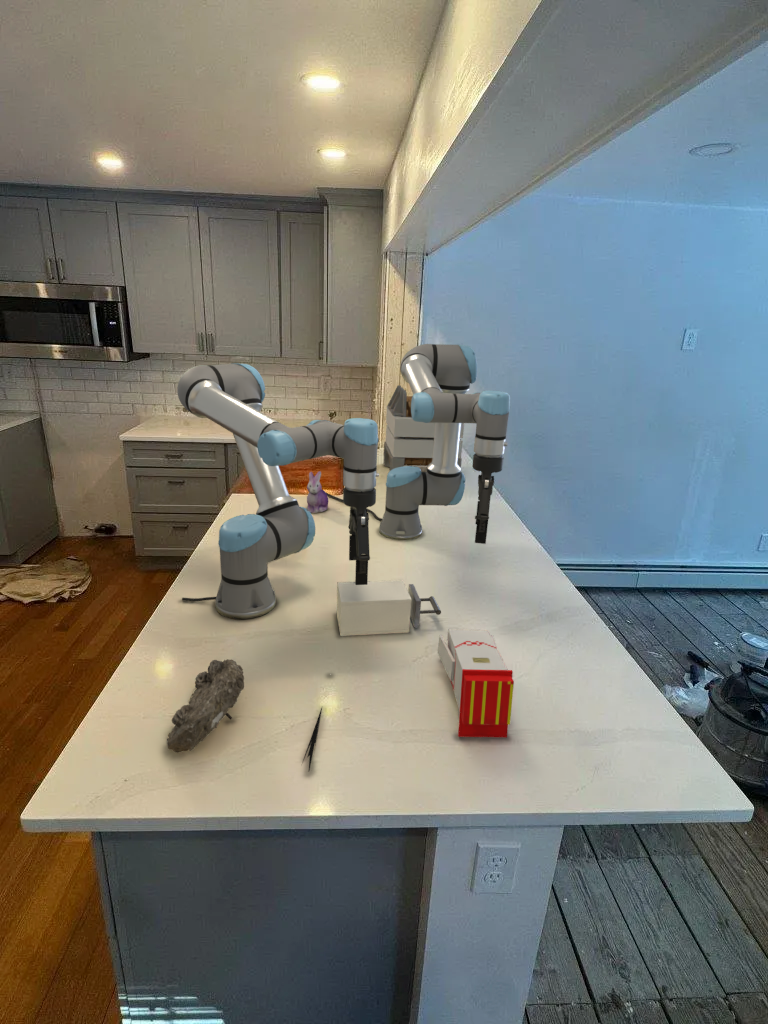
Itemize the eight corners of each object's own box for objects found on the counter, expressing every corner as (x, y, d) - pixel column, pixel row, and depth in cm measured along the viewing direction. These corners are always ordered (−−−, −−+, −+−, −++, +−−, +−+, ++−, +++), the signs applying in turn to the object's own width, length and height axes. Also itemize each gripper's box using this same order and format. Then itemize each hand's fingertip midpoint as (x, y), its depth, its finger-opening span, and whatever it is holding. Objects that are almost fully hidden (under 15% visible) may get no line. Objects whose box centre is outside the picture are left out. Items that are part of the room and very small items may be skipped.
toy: (488, 613, 130) (523, 677, 101) (484, 667, 133) (517, 744, 104) (435, 612, 130) (455, 676, 101) (432, 666, 133) (451, 743, 103)
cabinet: (401, 611, 149) (403, 579, 146) (409, 632, 139) (411, 599, 136) (336, 614, 146) (337, 582, 143) (340, 636, 136) (341, 602, 133)
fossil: (192, 660, 117) (244, 628, 112) (224, 691, 120) (276, 661, 115) (142, 746, 98) (202, 712, 93) (182, 779, 101) (242, 748, 96)
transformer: (382, 463, 289) (386, 382, 275) (445, 464, 293) (451, 384, 279) (390, 482, 257) (394, 392, 243) (460, 483, 261) (468, 394, 247)
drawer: (432, 608, 149) (434, 583, 147) (441, 626, 141) (443, 600, 138) (351, 611, 146) (352, 586, 143) (355, 630, 137) (356, 603, 135)
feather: (331, 679, 122) (336, 673, 122) (307, 777, 96) (313, 769, 95) (324, 675, 122) (329, 669, 121) (298, 772, 95) (304, 764, 95)
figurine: (310, 515, 213) (310, 476, 208) (301, 506, 222) (301, 469, 217) (333, 512, 218) (334, 474, 213) (323, 503, 226) (324, 467, 221)
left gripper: (384, 504, 119) (381, 595, 126) (368, 472, 142) (366, 550, 149) (349, 505, 117) (347, 596, 125) (338, 472, 141) (337, 551, 148)
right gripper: (505, 468, 130) (495, 553, 137) (502, 444, 153) (493, 518, 160) (472, 465, 131) (464, 549, 138) (474, 442, 154) (467, 516, 161)
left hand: (357, 571), depth 137 cm, fingers open, 13 cm apart
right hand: (480, 533), depth 149 cm, fingers open, 13 cm apart
